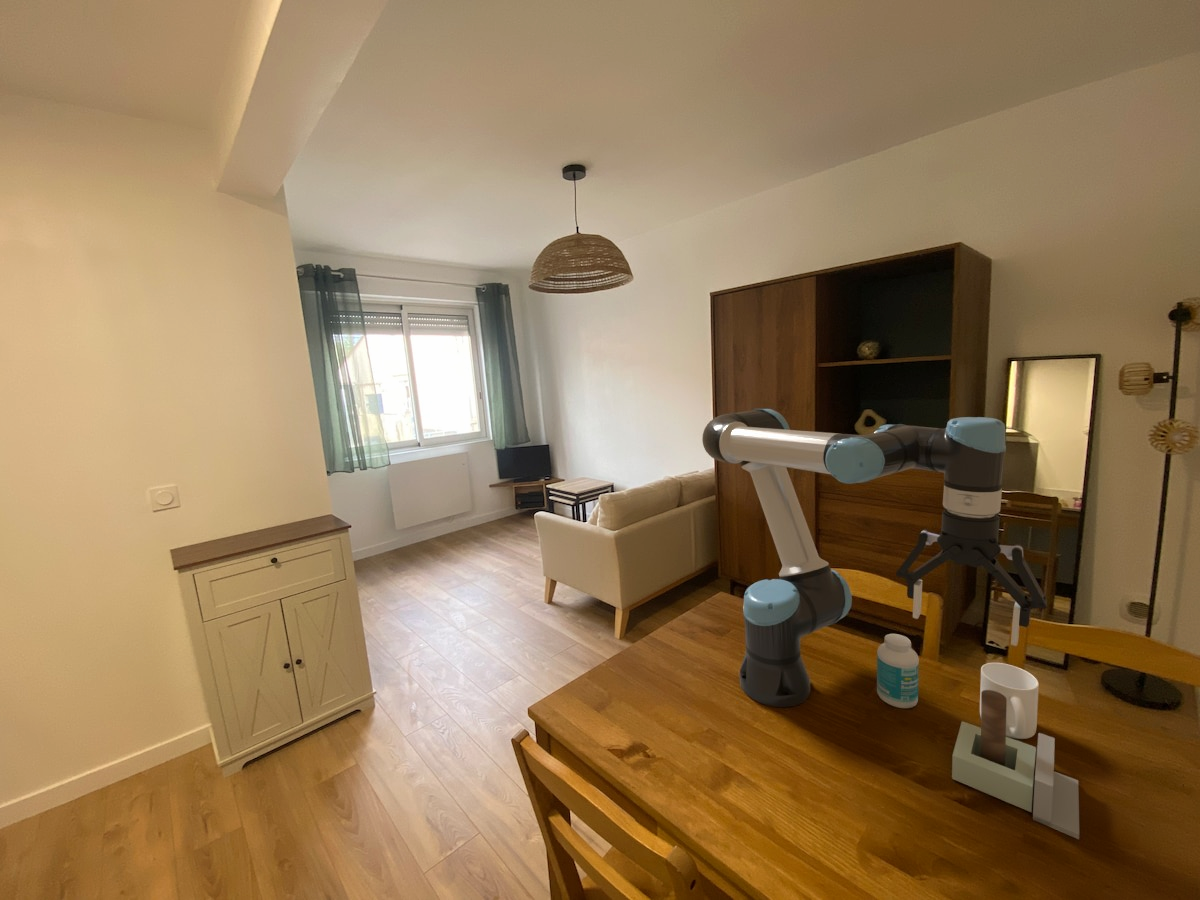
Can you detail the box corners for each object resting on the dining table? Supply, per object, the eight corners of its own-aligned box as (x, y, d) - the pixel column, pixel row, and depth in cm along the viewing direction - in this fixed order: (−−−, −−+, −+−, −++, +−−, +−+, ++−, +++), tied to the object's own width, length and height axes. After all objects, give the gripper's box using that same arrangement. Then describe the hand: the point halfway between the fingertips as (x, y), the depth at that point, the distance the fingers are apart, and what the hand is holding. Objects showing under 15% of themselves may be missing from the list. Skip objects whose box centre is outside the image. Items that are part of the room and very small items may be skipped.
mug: (1050, 761, 82) (1053, 708, 81) (990, 747, 86) (991, 696, 85) (1028, 715, 93) (1030, 667, 91) (975, 705, 97) (976, 658, 95)
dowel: (979, 777, 80) (980, 697, 78) (981, 765, 83) (982, 687, 80) (1003, 787, 78) (1005, 705, 76) (1005, 774, 80) (1007, 694, 78)
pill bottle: (907, 715, 95) (907, 654, 93) (870, 696, 102) (869, 638, 100) (925, 699, 99) (925, 640, 97) (888, 682, 106) (888, 626, 104)
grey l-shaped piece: (1032, 819, 73) (1034, 779, 72) (1036, 769, 81) (1038, 732, 80) (1079, 839, 69) (1081, 797, 68) (1077, 784, 77) (1080, 746, 76)
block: (951, 778, 80) (952, 755, 80) (961, 742, 87) (961, 721, 87) (1031, 812, 73) (1032, 787, 73) (1034, 770, 80) (1036, 747, 80)
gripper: (879, 505, 85) (876, 614, 89) (1076, 532, 67) (1061, 666, 71) (891, 495, 90) (887, 598, 94) (1076, 517, 72) (1063, 643, 76)
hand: (962, 627), depth 82 cm, fingers open, 13 cm apart
